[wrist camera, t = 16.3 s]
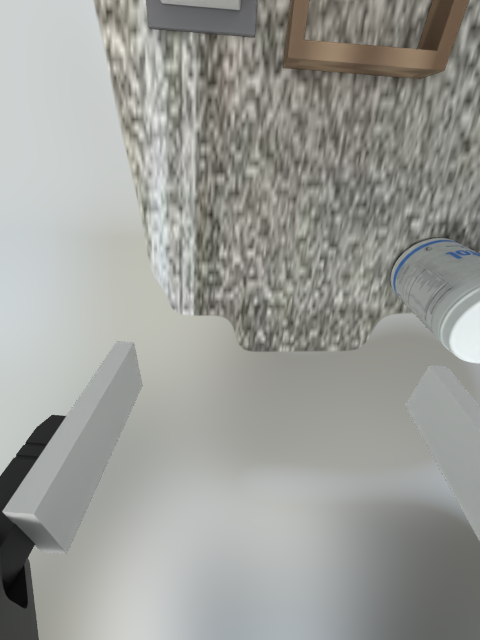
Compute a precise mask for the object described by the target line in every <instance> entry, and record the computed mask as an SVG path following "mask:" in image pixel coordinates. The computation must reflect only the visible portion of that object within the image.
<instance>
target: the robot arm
mask: <svg viewBox="0 0 480 640" xmlns="http://www.w3.org/2000/svg"><path fill="white" fill-rule="evenodd" d="M142 386H143V385H142V380H141V375H140V370H139V366H138V360H137V355H136V350H135V346H134V343H132V342H120V341H117V342H116V343H115V345H114V346H113V348H112V349H111V351H110V352H109V354H108V355H107V357H106V358H105V360H104V361H103V363H102V364H101V365H100V367H99V369H98V370H97V371H96V373H95V375H94V376H93V377H92V379H91V380H90V382H89V383H88V385H87V386H86V388H85V389H84V391H83V392H82V394H81V395H80V397H79V398H78V400H77V401H76V403H75V404H74V406H73V407H72V409H71V410H70V412H69V413H68V415H67V416H59V415H51V416H50V417H49V418H48V419H46V420H45V421H44V422H43V423H42V424H40V425H39V426H38V427H37V428H36V429H35V430H34V432H33V433H32V434H31V436H30V437H29V438H28V440H27V441H26V444H25V445H23V446H22V448H21V449H20V450H19V452H18V453H17V454H16V457H15V458H14V459H13V460H12V461H11V462H10V464H9V465H8V467H7V468H6V469H5V471H4V472H3V473H2V475H1V476H0V640H39V639H38V630H37V621H36V613H35V604H34V595H33V587H32V578H31V570H30V562H29V560H28V556H29V554H30V553H31V550H32V549H33V547H34V545H36V546H37V547H38V548H39V550H40V551H42V552H54V553H67V552H68V550H69V548H70V545H71V543H72V541H73V539H74V537H75V534H76V532H77V530H78V528H79V526H80V523H81V521H82V519H83V517H84V514H85V512H86V510H87V508H88V506H89V503H90V501H91V499H92V497H93V495H94V492H95V490H96V488H97V486H98V483H99V481H100V479H101V477H102V474H103V472H104V470H105V468H106V466H107V463H108V461H109V458H110V456H111V455H112V452H113V450H114V448H115V446H116V443H117V441H118V439H119V437H120V434H121V432H122V430H123V428H124V426H125V423H126V421H127V419H128V417H129V414H130V412H131V410H132V408H133V406H134V403H135V401H136V399H137V397H138V394H139V392H140V390H141V388H142ZM405 407H406V409H407V411H408V413H409V414H410V416H411V418H412V420H413V422H414V424H415V425H416V427H417V429H418V431H419V432H420V434H421V436H422V438H423V440H424V442H425V443H426V445H427V447H428V449H429V451H430V453H431V454H432V456H433V458H434V459H435V462H436V463H437V465H438V467H439V469H440V470H441V472H442V474H443V476H444V478H445V480H446V481H447V483H448V485H449V487H450V489H451V490H452V492H453V494H454V496H455V497H456V499H457V501H458V503H459V505H460V507H461V508H462V510H463V512H464V514H465V516H466V517H467V519H468V521H469V523H470V525H471V526H472V528H473V530H474V532H475V534H476V535H477V537H478V539H479V541H480V406H479V405H478V404H477V402H476V401H475V400H474V399H473V398H472V396H471V395H470V394H469V393H468V392H467V390H466V389H465V388H464V387H463V385H462V384H461V383H460V382H459V381H458V379H457V378H456V377H455V376H454V375H453V373H452V372H451V371H450V370H449V369H448V367H444V366H432V365H429V367H428V369H427V370H426V372H425V373H424V375H423V377H422V378H421V380H420V382H419V383H418V385H417V387H416V388H415V390H414V392H413V393H412V395H411V396H410V398H409V400H408V401H407V403H406V404H405Z"/></svg>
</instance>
